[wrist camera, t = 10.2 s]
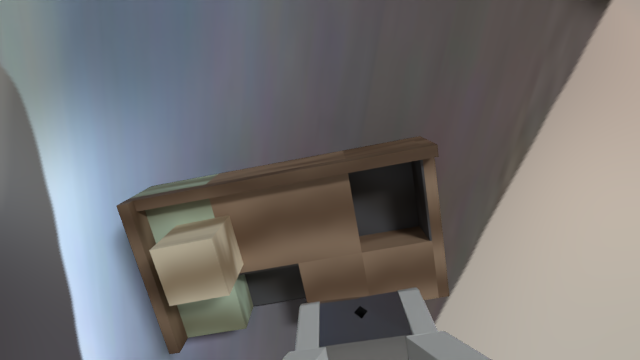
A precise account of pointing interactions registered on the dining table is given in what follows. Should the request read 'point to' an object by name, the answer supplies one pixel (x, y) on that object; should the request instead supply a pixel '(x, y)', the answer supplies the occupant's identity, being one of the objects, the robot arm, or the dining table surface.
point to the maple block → (198, 260)
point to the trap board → (302, 232)
